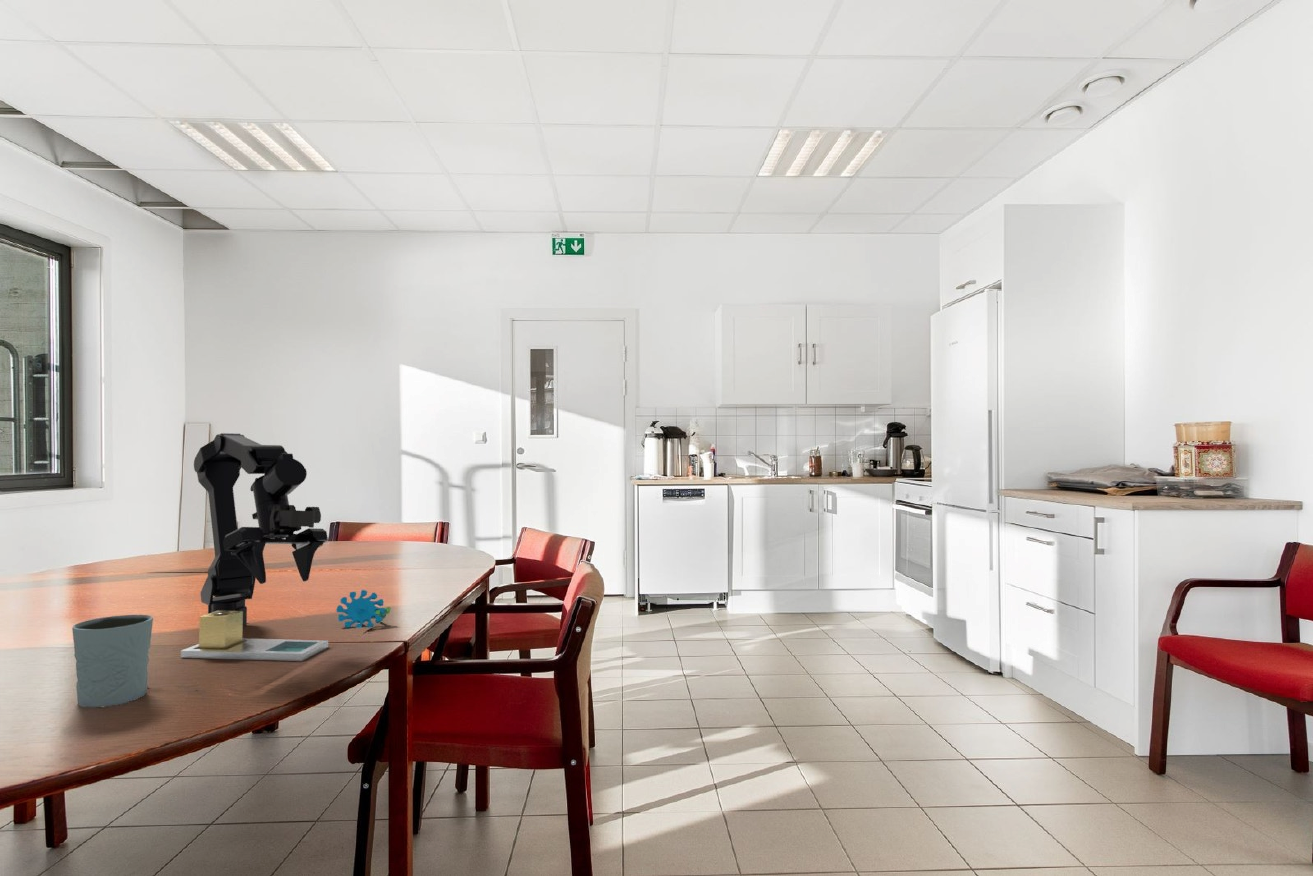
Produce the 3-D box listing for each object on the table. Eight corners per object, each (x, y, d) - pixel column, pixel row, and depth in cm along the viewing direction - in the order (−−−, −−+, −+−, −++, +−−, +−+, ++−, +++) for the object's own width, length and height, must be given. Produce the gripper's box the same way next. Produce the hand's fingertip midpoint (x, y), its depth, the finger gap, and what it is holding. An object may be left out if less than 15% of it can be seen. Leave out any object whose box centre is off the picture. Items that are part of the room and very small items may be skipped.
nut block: (198, 654, 132) (199, 615, 132) (217, 646, 137) (217, 609, 137) (224, 655, 131) (225, 616, 131) (242, 647, 136) (242, 610, 136)
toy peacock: (333, 626, 150) (340, 586, 157) (331, 641, 153) (338, 601, 161) (388, 629, 154) (393, 590, 161) (385, 643, 157) (390, 605, 164)
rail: (180, 661, 130) (180, 650, 130) (214, 647, 139) (214, 637, 139) (301, 665, 128) (302, 654, 128) (328, 651, 137) (328, 640, 137)
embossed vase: (86, 714, 104) (88, 632, 104) (59, 701, 110) (60, 623, 110) (163, 694, 113) (165, 618, 113) (134, 683, 118) (136, 610, 118)
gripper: (256, 486, 128) (270, 570, 123) (340, 493, 145) (354, 566, 140) (215, 508, 131) (227, 590, 127) (302, 512, 148) (315, 584, 144)
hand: (285, 582), depth 135 cm, fingers open, 9 cm apart
